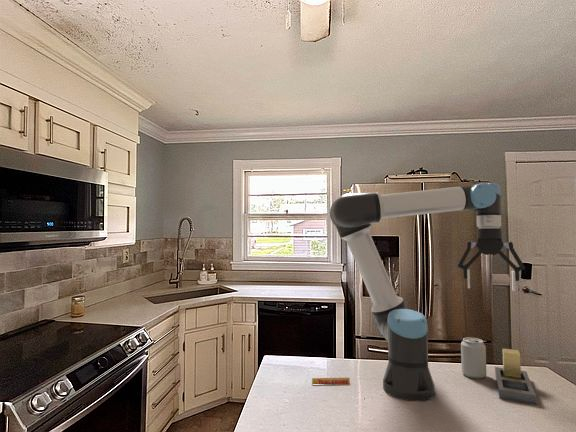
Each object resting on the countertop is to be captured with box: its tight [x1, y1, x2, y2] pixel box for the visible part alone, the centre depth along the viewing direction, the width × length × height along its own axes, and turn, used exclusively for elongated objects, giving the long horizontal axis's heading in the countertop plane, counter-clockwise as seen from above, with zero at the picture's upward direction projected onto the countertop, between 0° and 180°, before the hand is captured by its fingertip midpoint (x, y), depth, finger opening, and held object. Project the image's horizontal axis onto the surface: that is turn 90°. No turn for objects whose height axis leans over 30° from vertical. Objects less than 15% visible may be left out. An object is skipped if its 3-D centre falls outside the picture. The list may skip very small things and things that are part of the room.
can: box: [460, 337, 487, 380], centre depth 123 cm, size 8×8×12 cm
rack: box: [494, 366, 537, 406], centre depth 112 cm, size 9×20×2 cm, turn 153°
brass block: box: [502, 348, 522, 380], centre depth 116 cm, size 4×4×10 cm
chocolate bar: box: [311, 377, 351, 386], centre depth 116 cm, size 3×12×2 cm, turn 92°
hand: (490, 289), depth 125 cm, fingers open, 13 cm apart
